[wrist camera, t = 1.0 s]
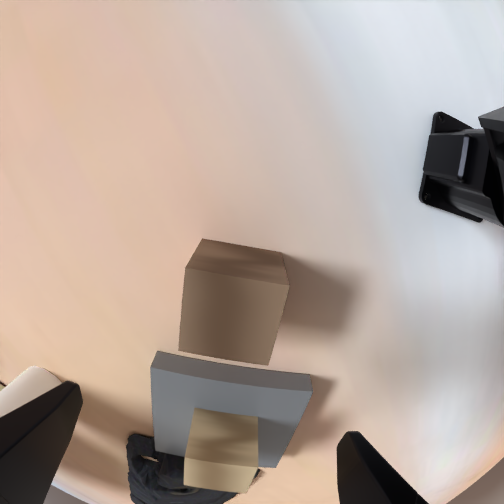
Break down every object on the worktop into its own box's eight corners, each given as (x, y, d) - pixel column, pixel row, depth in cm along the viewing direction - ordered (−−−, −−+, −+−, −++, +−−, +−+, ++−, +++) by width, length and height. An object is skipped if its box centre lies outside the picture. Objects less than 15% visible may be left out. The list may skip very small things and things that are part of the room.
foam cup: (87, 428, 26) (49, 514, 13) (25, 396, 25) (-22, 467, 13) (80, 376, 23) (20, 479, 11) (10, 339, 22) (-59, 416, 10)
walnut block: (281, 252, 19) (289, 285, 14) (265, 319, 20) (268, 365, 16) (202, 238, 19) (185, 267, 14) (193, 307, 20) (178, 350, 15)
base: (309, 374, 22) (313, 391, 20) (274, 453, 26) (275, 467, 24) (157, 351, 21) (150, 366, 20) (159, 436, 25) (155, 450, 23)
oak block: (257, 416, 21) (258, 467, 16) (246, 448, 23) (246, 493, 18) (194, 407, 21) (184, 457, 16) (191, 440, 22) (183, 484, 18)
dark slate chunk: (120, 486, 32) (113, 508, 27) (132, 420, 25) (119, 455, 21) (212, 512, 34) (210, 535, 29) (269, 458, 27) (271, 493, 23)
